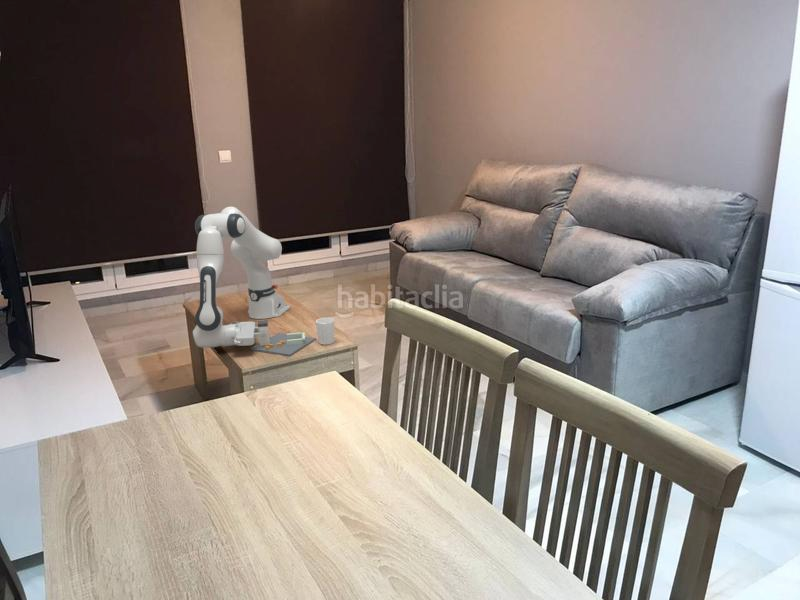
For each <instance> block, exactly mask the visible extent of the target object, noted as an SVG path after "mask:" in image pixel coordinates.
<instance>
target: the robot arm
mask: <svg viewBox="0 0 800 600" xmlns="http://www.w3.org/2000/svg"><path fill="white" fill-rule="evenodd" d="M194 229H195V233H196V235H197V239H196V240H197V241H196V266H197V271H198V277H199V286H200V287H199V294H200V295H199V306H198V308H197V311H196V313H195V316H194V321H195V324H196V325H195V327H194V329H193V330H192V339H193V342H194V344H195V345H196V346H197V347H198V348H204V349H205V348H206V349H208V348H217V347H220V346H224V347H228V346H229V347H230V346H242V347H243V346H253V345H254V344H255V341H256V339H258V340H259V338H260V337H265V336H266V332H261V333H259V331H258V326H257V325H256V322H255V321H240V322H238V321H233V322H231V323H229V324H226V325H225V324H224V325H223V321H224V313H223V312H224V311H223V310H222V308H221V307H220V306H218V305H217V282H218V279H219V277H220V275H221V273H222V271H223V267H224V260H225V256H224V253H225V252H224V251H225V250H224V243H223V240H224V239H232V242H231V244H230V251H231V255H233V257H234V258H235V259H237V260H238V261H239V262H240V263H241V265H242V266H243V268H244V270H245V273H246V277H247V284H248V290H247V291H248V310H247V314H248V317H249V318H251V319H255V320H261V319H262V320H264V319H265V320H266V319H272V318H278V317H280V316H282V315H283V314H284V313H286V312H287V311H288V310H290V309H291V305H290V304H286V301H285V300H286V299H285V298H284V296H283V295H281V294H279V293H277V292H276V291H275V290H277V289H278V288H279V287H278V285H279V284H273V282H272V274H271V271H270V269H269V268H268V267H267V266H265V265H264V264H263V263H262V262H261V261H271V260H272V261H273V260H276V259H279V258H280V256H281V255H282V251H283V247H282V243H281V242H280V240H279V239H277V238H274V237H271V236H269V235H268V234H266V233H264V232H262V231H261V230H259V229H258V228H256V227H255V226H254V224H253V223H252V222H251V221H250V220H249V218H248V217H247V216H246V215H245V214H244V213H243V212H242V211H241V210H240V209H238V208H237V207H235V206H227V207H225V208H223V209H222V210H221V212H219V213H218V212H217V213H210V214H209V213H208V214H201V215H199V216H198V217H197V218H196V220H195V222H194Z"/></svg>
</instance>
